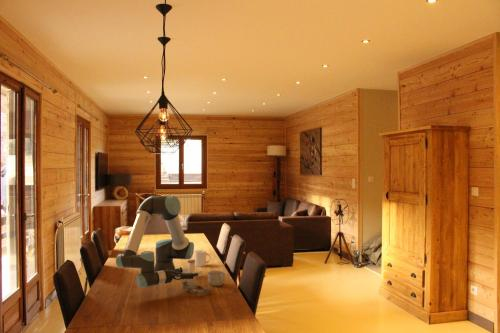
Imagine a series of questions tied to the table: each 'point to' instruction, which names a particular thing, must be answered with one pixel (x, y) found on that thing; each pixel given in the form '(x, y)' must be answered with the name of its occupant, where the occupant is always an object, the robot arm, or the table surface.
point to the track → (196, 289)
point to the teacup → (216, 278)
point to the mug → (200, 258)
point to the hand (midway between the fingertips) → (196, 271)
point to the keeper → (191, 269)
